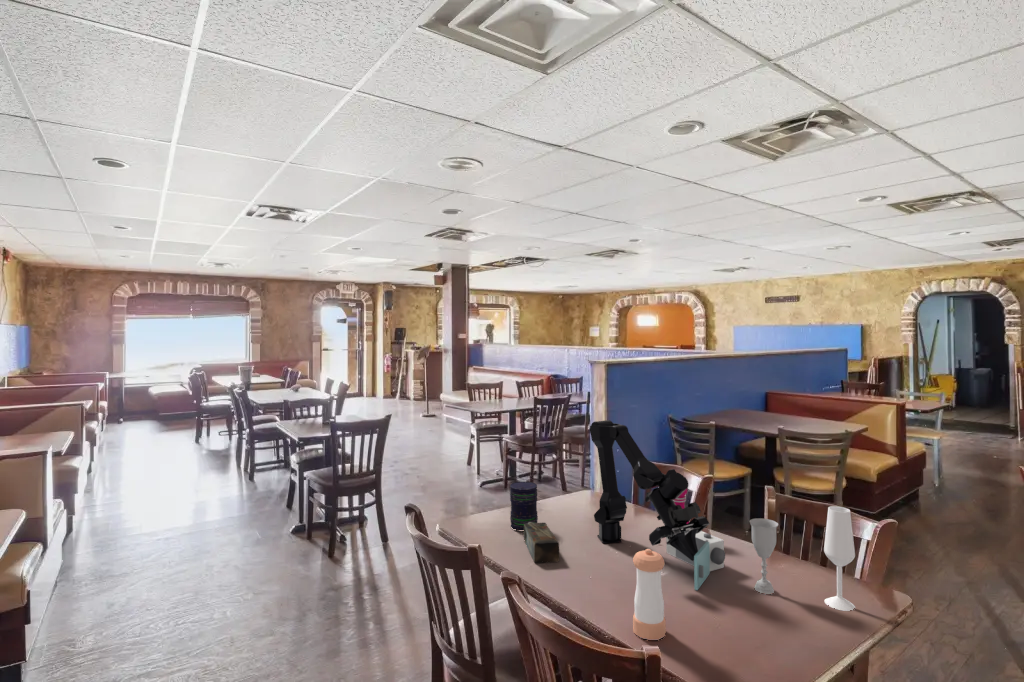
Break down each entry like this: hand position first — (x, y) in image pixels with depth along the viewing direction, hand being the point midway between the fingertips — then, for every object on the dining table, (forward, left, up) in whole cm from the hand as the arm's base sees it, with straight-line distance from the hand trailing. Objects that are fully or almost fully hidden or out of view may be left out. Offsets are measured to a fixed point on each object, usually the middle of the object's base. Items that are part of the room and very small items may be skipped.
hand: (695, 559), depth 147 cm
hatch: (+3, +1, -7) cm, 7 cm away
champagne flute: (+30, -16, -7) cm, 35 cm away
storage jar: (-39, +52, -7) cm, 65 cm away
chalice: (+16, -6, -7) cm, 19 cm away
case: (+7, +15, -7) cm, 18 cm away
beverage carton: (-37, +30, -7) cm, 49 cm away
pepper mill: (+11, +34, -7) cm, 36 cm away
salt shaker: (-22, -20, -7) cm, 31 cm away
